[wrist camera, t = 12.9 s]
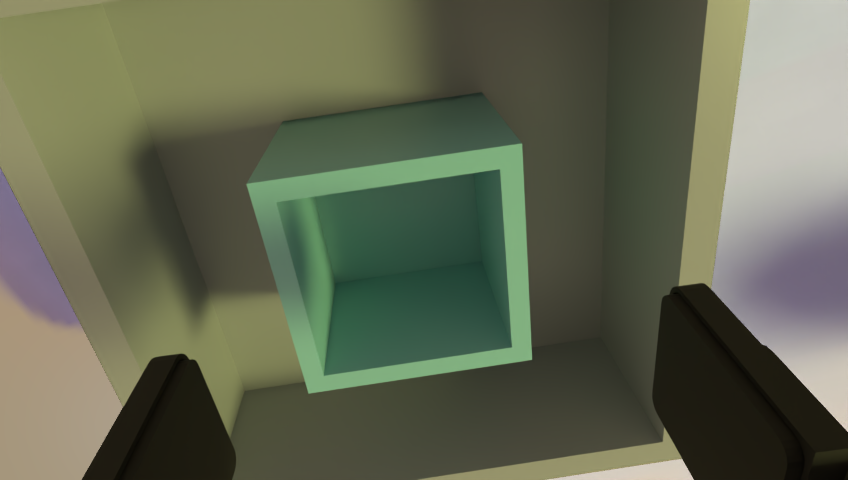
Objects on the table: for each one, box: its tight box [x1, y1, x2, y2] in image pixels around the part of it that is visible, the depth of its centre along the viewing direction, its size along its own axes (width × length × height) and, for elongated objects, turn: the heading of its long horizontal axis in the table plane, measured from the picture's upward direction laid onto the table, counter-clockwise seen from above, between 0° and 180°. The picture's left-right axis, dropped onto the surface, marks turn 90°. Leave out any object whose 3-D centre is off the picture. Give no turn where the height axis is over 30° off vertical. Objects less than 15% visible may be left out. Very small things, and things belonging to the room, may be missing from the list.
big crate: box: [0, 0, 750, 480], centre depth 19 cm, size 18×18×7 cm
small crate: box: [246, 92, 532, 394], centre depth 18 cm, size 7×7×6 cm
